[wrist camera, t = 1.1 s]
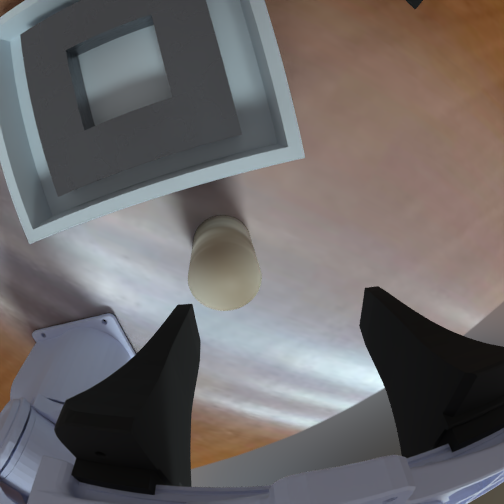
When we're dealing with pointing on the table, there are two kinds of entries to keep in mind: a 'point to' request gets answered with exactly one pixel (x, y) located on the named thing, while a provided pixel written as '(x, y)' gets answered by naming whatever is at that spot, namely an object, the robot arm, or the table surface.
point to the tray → (137, 96)
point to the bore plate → (137, 121)
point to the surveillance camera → (414, 3)
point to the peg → (223, 264)
